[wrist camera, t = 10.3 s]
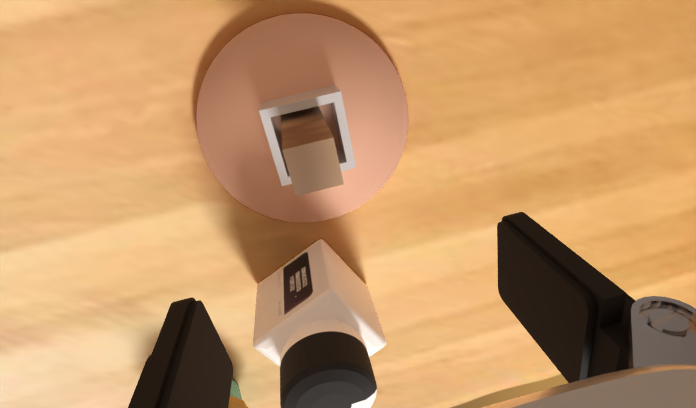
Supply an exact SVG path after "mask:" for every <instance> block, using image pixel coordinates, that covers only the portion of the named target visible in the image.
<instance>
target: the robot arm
mask: <svg viewBox="0 0 696 408" xmlns="http://www.w3.org/2000/svg"><path fill="white" fill-rule="evenodd" d="M497 237H498V290H499V294H500V296H501V298H502V300H503V301H504V302H505V304H506V305H507V306H508V307H509V309H510V310H511V311H512V312H513V314H514V315H515V316H516V317H517V319H518V320H519V321H520V322H521V324H522V325H523V326H524V327H525V329H526V330H527V331H528V332H529V334H530V335H531V336H532V337H533V339H534V340H535V341H536V342H537V344H538V345H539V346H540V347H541V349H542V350H543V351H544V352H545V354H546V355H547V356H548V357H549V359H550V360H551V361H552V362H553V364H554V365H555V366H556V367H557V369H558V370H559V371H560V372H561V374H562V375H563V376H564V377H565V379H566V380H567V381H568V382H569V383H568V384H564V385H560V386H556V387H553V388H549V389H545V390H542V391H538V392H535V393H531V394H528V395H525V396H521V397H517V398H514V399H510V400H506V401H503V402H500V403H496V404H492V405H489V406H485V407H482V408H696V309H695V308H694V307H692V306H690V305H688V304H686V303H683V302H681V301H679V300H675V299H671V298H667V297H658V296H651V297H644V298H641V299H638V300H636V301H635V300H634V299H633V298H631V297H630V296H629V295H627V293H626V292H624V291H623V290H622V289H620V288H619V287H618V286H617V285H615V284H614V283H613V282H612V281H610V280H609V279H608V278H606V277H605V276H604V275H603V274H601V273H600V272H599V271H598V270H596V269H595V268H594V267H592V266H591V265H590V264H589V263H587V262H586V261H585V260H584V259H582V258H581V257H580V256H578V255H577V254H576V253H575V252H573V251H572V250H571V249H570V248H568V247H567V246H566V245H564V244H563V243H562V242H561V241H559V240H558V239H557V238H555V237H554V236H553V235H552V234H550V233H549V232H548V231H547V230H545V229H544V228H543V227H541V226H540V225H539V224H538V223H536V222H535V221H534V220H533V219H531V218H530V217H529V216H527V215H526V214H525V213H523V212H519V213H515V214H511V215H508V216H504V217H503V218H502V222H499V223H498V226H497ZM232 376H233V367H232V362H231V360H230V358H229V356H228V354H227V352H226V350H225V348H224V346H223V344H222V341H221V339H220V337H219V335H218V333H217V331H216V329H215V327H214V325H213V323H212V321H211V319H210V317H209V315H208V313H207V311H206V309H205V307H204V305H203V303H202V302H201V301H196V300H195V299H194V298H188V299H184V300H180V301H176V302H173V303H172V304H171V306H170V308H169V311H168V313H167V316H166V318H165V321H164V324H163V326H162V329H161V332H160V334H159V337H158V339H157V342H156V345H155V347H154V350H153V353H152V355H150V356H149V357H148V359H147V361H146V363H145V366H144V368H143V371H142V373H141V376H140V379H139V381H138V384H137V386H136V389H135V391H134V394H133V396H132V399H131V402H130V404H129V407H128V408H228V406H229V399H230V391H231V383H232Z"/></svg>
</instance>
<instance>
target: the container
mask: <svg viewBox="0 0 696 408" xmlns="http://www.w3.org/2000/svg"><path fill="white" fill-rule="evenodd" d="M385 345H386V339H385V336H384V333H383V330H382V327H381V324H380V322H379V319H378V316H377V313H376V310H375V307H374V304H373V301H372V298H371V295H370V292H369V289H368V287H367V286H366V285H365V283H364V282H363V281H362V280H361V279H360V278H359V277H358V276H357V275H356V274H355V273H354V272H353V271H352V270H351V269H350V268H349V267H348V265H347V264H346V263H345V262H344V261H343V260H342V259H341V258H340V257H339V256H338V255H337V254H336V253H335V252H334V251H333V250H332V248H331V247H330V246H329V245H328V244H327V243H326V242H325V241H324V240H322V239H319V240H318V241H316V242H315V243H313V244H312V245H311V246H309V247H308V248H307V249H305V250H304V251H302V252H301V253H300V254H298V255H297V256H296V257H294V258H293V259H292V260H290V261H289V262H287V263H286V264H285V265H283V266H282V267H281V268H279V269H278V270H276V271H275V272H274V273H272V274H271V275H270V276H268V277H267V278H265V279H264V280H263V281H261V282H260V283H259V284H258V285H257V298H256V311H255V324H254V338H253V346H254V348H255V349H257V350H258V351H259V352H261V353H262V354H263V355H265V356H266V357H267V358H269V359H270V360H271V361H273V362H274V363H275V364H276V365H278V366H279V367H280V398H281V408H370V407H371V406H372V404H373V402H374V400H375V397H376V393H377V385H376V381H375V377H374V374H373V370H372V366H371V363H370V359H369V356H371V355H372V354H374V353H375V352H377V351H378V350H380V349H382V348H383V347H384V346H385Z"/></svg>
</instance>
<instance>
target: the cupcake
mask: <svg viewBox="0 0 696 408" xmlns="http://www.w3.org/2000/svg"><path fill="white" fill-rule="evenodd" d="M228 408H248V407H247V406H246V404H245V403H244V401H243V400H242V398H241V394H240V389H239V386H238V385H237V383H236V382H235V381H234V380H232V383H231V391H230V399H229V406H228Z"/></svg>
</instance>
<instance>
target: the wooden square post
mask: <svg viewBox="0 0 696 408" xmlns="http://www.w3.org/2000/svg"><path fill="white" fill-rule="evenodd" d="M281 131H282V151H283V154H284V158H285V161H286V164H287V168H288V171H289V175H290V178H291V182H292V185H293V189H294V192H295V196H299V195H303V194H307V193H311V192H315V191H319V190H323V189H327V188H331V187H335V186H339V185H343V184H344V182H343V178H342V173H341V169H340V164H339V160H338V155H337V150H336V146H335V141H334V137H333V135H332V133H331V131H330V129H329V127H328V125H327V123H326V121H325V119H324V117H323V115H322V113H321V110H320V108H319V106H316V107H312V108H308V109H304V110H299V111H295V112H291V113H287V114H283V115H281Z"/></svg>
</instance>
